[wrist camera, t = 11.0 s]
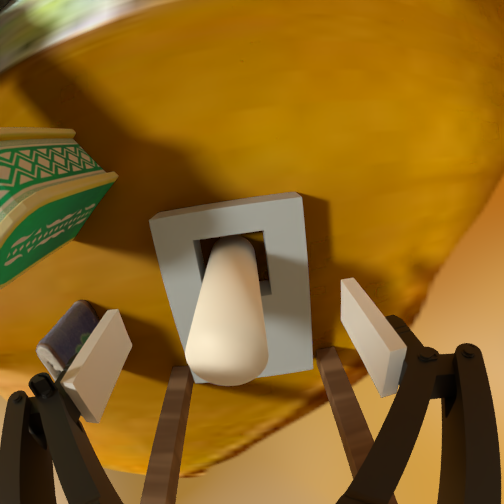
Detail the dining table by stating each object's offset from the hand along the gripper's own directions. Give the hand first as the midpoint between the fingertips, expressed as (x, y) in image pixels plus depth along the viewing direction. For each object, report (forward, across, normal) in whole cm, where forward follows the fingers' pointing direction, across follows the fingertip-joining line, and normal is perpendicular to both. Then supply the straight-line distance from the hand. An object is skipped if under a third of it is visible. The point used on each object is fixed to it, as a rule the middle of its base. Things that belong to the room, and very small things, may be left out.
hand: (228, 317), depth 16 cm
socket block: (+11, 0, -4) cm, 11 cm away
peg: (+11, 0, 0) cm, 11 cm away
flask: (+11, -17, -7) cm, 22 cm away
